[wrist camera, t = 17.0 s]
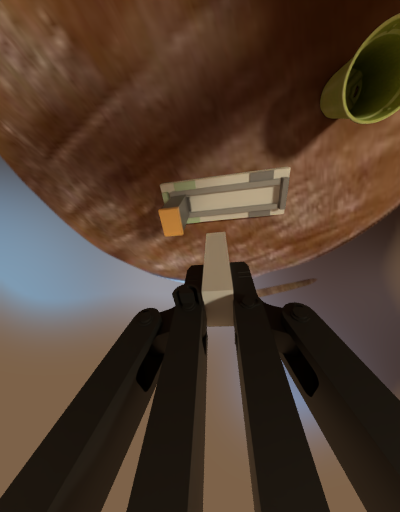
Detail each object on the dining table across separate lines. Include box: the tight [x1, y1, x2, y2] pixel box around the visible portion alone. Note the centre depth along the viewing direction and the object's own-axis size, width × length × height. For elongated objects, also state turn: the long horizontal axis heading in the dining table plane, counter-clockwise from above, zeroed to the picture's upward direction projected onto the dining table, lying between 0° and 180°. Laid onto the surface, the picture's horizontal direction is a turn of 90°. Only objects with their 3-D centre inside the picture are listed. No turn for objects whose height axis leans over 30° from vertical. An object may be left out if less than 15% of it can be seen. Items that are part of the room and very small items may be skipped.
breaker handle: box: [158, 195, 192, 236], centre depth 32 cm, size 4×4×11 cm
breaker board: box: [160, 167, 290, 224], centre depth 36 cm, size 26×9×4 cm, turn 97°
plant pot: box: [320, 13, 400, 124], centre depth 23 cm, size 9×9×9 cm
